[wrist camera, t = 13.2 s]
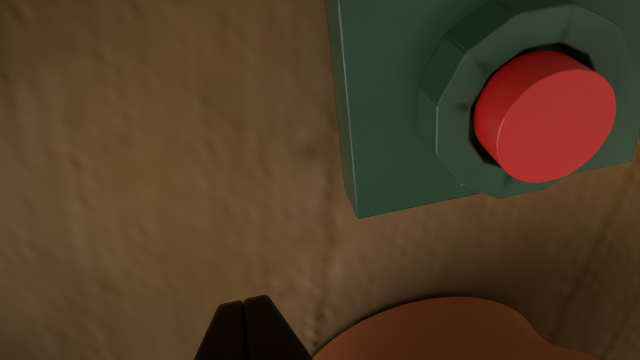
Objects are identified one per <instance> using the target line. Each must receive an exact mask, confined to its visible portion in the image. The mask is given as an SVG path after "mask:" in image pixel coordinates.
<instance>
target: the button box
mask: <svg viewBox="0 0 640 360" xmlns="http://www.w3.org/2000/svg"><path fill="white" fill-rule="evenodd" d="M325 1H326V11H327V21H328V31H329V40H330V50H331V60H332V69H333V79H334V89H335V99H336V108H337V118H338V128H339V137H340V147H341V157H342V167H343V176H344V186H345V191H346V193H347V196H348V198H349V200H350V203H351V205H352V208H353V210H354V212H355V215H356V217H357V218H358V219H360V218H365V217H369V216H374V215H379V214H384V213H388V212H393V211H398V210H403V209H407V208H412V207H417V206H422V205H426V204H431V203H436V202H441V201H445V200H450V199H455V198H459V197H464V196H469V195H474V194H478V193H484V194H487V195H491V196H494V197H498V198H499V197H500V198H504V197H508V196H513V195H518V194H522V193H527V192H532V191H537V190H541V189H545V188H546V187H549V186H550V185H552V184H553V183H555V182H556V181H558V180H559V179H561V178H562V177H560V178H558V179H555V180H551V181H547V182H538V183H532V182H525V181H521V180H518V179H516V178H514V177H512V176H511V175H509V174H508V173H507V172H506V171H505V170H504V169H503V168H502V167H501V166H500V165H499V164H498V163H497V161H496V160H495V159H494V158H493V157H492V156H491V155H490V154H489V153H488V152H487V150H486V149H485V148H484V147H483V146H482V145H481V143H480V142H479V140H478V139H477V137H476V134H475V130H474V110H475V106H476V103H477V100H478V98H479V95H480V93H481V91H482V90H483V88H484V86H485V85H486V83H487V82H488V81H489V80H490V78H491V77H492V76H493V75H494V74H495V73H496V72H497V71H498V70H499V69H500V68H501V67H503V66H504V65H505V64H507V63H508V62H510V61H511V60H513V59H515V58H517V57H519V56H521V55H523V54H526V53H529V52H533V51H538V50H554V51H559V52H562V53H564V54H566V55H568V56H570V57H572V58H573V59H575V60H577V61H578V62H580V63H582V64H583V65H585V66H587V67H588V68H590V69H592V70H593V71H595V72H597V73H598V74H600V75H602V76H603V77H604V78H605V79H606V80H607V81H608V82H609V84H610V85H611V87H612V89H613V91H614V94H615V98H616V114H615V119H614V123H613V126H612V128H611V130H610V133H609V135H608V136H607V138H606V140H605V141H604V143H603V144H602V146H601V147H600V148H599V150H598V151H597V152H596V153H595V154H594V155H593V156H592V157H591V158H590V159H589V160H588V161H587V162H586V163H584V164H583V165H582V166H580V167H579V168H578V169H576V170H574V171H573V172H571V173H569V174H573V173H578V172H583V171H587V170H592V169H597V168H602V167H606V166H611V165H616V164H621V163H625V162H630V161H632V158H633V154H634V151H635V147H636V143H637V139H638V135H639V132H640V0H325ZM569 174H567V175H569ZM563 177H564V176H563Z"/></svg>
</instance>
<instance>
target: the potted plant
mask: <svg viewBox="0 0 640 360" xmlns="http://www.w3.org/2000/svg"><path fill="white" fill-rule="evenodd" d="M313 360H601V359H599V358H596V357H594V356H592V355H589V354H586V353H582V352H579V351H576V350H572V349H568V348H564V347H560V346H556V345H553V344H550V343H549V342H547V341H546V340H545V339H544V338H542V337H541V336H540V335H539V334H538V333H537V332H536V331H535V329H534V328H533V327H532V326H531V324H530V323H529V322H528V321H527V320H526V319H525V318H524V317H523V316H522V315H521V314H520V313H518V312H517V311H515V310H513V309H512V308H510V307H508V306H505V305H503V304H501V303H497V302H494V301H491V300H486V299H481V298H473V297H442V298H434V299H427V300H421V301H417V302H412V303H408V304H405V305H401V306H398V307H395V308H392V309H389V310H387V311H384V312H381V313H379V314H376V315H374V316H372V317H370V318H368V319H366V320H363V321H362V322H360V323H358V324H356V325H354V326H353V327H351V328H349V329H348V330H346V331H345V332H343V333H341V334H340V335H338V336H337V337H336V338H334V339H333V340H332V341H330V342H329V343H328V344H327V345H325V346H324V347H323V348H322V349H321V350H320V351H319V352H318V353H317V354H316V355H315V356H314V357H313Z"/></svg>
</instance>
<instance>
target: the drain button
mask: <svg viewBox="0 0 640 360" xmlns="http://www.w3.org/2000/svg"><path fill="white" fill-rule="evenodd" d="M615 114H616V98H615V94H614V91H613V89H612V87H611V85H610V84H609V82H608V81H607V80H606V79H605V78H604V77H603V76H602V75H600V74H598V73H597V72H595V71H593V70H592V69H590V68H588V67H587V66H585V65H583V64H582V63H580V62H578V61H577V60H575V59H573V58H572V57H570V56H568V55H566V54H564V53H562V52H559V51H554V50H538V51H533V52H529V53H526V54H523V55H521V56H519V57H517V58H515V59H513V60H511V61H510V62H508V63H507V64H505V65H504V66H503V67H501V68H500V69H499V70H498V71H497V72H496V73H495V74H494V75H493V76H492V77H491V78H490V80H489V81H488V82H487V83H486V85H485V86H484V88H483V90H482V91H481V93H480V95H479V98H478V100H477V103H476V106H475V110H474V130H475V134H476V137H477V139H478V140H479V142H480V143H481V145H482V146H483V147H484V148H485V149H486V150H487V152H488V153H489V154H490V155H491V156H492V157H493V158H494V159H495V160H496V161H497V163H498V164H499V165H500V166H501V167H502V168H503V169H504V170H505V171H506V172H507V173H508V174H509V175H511V176H512V177H514V178H516V179H518V180H521V181H525V182H532V183H538V182H547V181H551V180H555V179H558V178H560V177H563V176H565V175H567V174H569V173H571V172H573V171H574V170H576V169H578V168H579V167H580V166H582V165H583V164H584V163H586V162H587V161H588V160H589V159H590V158H591V157H592V156H593V155H594V154H595V153H596V152H597V151H598V150H599V148H600V147H601V146H602V144H603V143H604V141H605V140H606V138H607V136H608V135H609V133H610V130H611V128H612V126H613V123H614V119H615Z"/></svg>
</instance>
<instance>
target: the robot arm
mask: <svg viewBox="0 0 640 360" xmlns="http://www.w3.org/2000/svg"><path fill="white" fill-rule="evenodd" d="M194 360H313V358H312V357H311V356H310V354H309V353H308V351H307V350H306V348H305V347H304V346H303V344H302V343H301V341H300V340H299V339H298V337H297V336H296V334H295V333H294V331H293V330H292V329H291V327H290V326H289V324H288V323H287V322H286V320H285V319H284V317H283V316H282V314H281V313H280V312H279V310H278V309H277V307H276V306H275V305H274V303H273V302H272V300H271V299H270V298H269V296H267V295H261V296H256V297H251V298H247V299H246V300H245V301H244V303H243V302H242V301H240V300H238V301H233V302H229V303H224V304H221V305H219V306H218V308H217V310H216V312H215V314H214V316H213V318H212V321H211V323H210V325H209V327H208V329H207V332H206V334H205V336H204V338H203V341H202V343H201V345H200V347H199V349H198V352H197V354H196V356H195V358H194Z"/></svg>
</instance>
